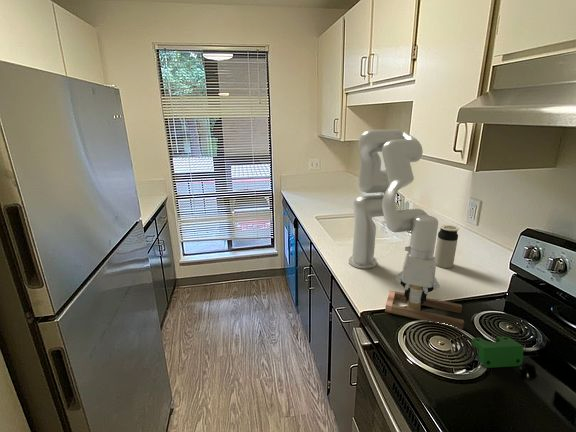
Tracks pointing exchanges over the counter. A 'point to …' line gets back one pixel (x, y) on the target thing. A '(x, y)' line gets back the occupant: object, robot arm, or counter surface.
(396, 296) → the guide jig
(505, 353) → the green toy brick
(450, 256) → the travel mug
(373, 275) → the counter surface
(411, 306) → the sprinkles bottle
